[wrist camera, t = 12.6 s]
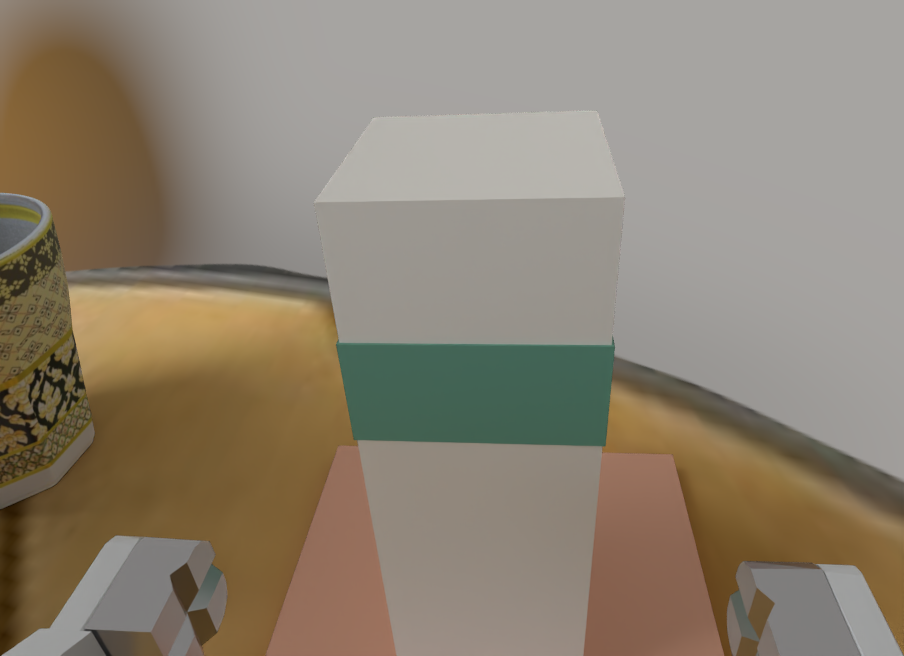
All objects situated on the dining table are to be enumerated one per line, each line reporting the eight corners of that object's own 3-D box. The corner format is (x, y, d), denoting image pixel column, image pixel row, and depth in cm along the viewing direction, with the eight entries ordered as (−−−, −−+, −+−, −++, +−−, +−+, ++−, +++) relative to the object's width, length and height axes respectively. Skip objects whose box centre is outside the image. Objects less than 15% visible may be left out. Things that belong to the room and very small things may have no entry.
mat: (213, 841, 16) (205, 827, 16) (341, 460, 27) (338, 445, 26) (775, 897, 14) (782, 883, 14) (669, 469, 25) (672, 454, 25)
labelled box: (397, 674, 18) (309, 204, 11) (422, 528, 23) (371, 116, 15) (582, 686, 18) (628, 198, 10) (572, 534, 22) (599, 109, 14)
